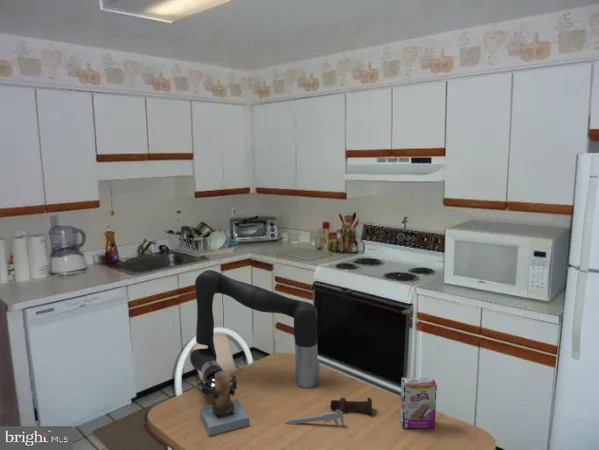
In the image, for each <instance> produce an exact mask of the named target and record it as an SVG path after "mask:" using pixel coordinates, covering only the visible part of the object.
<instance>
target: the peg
mask: <svg viewBox="0 0 599 450" xmlns="http://www.w3.org/2000/svg"><path fill="white" fill-rule="evenodd" d="M230 374H231V372H230V371H228V370H223V371H219V372H217V373H215V390H216V392H217V395H218V399H216V400H215V402H214V403H213V404H214V405H213V406H212V411H213V412H214V413H215V414H217V417H218V418H221V417H225V416H229V415H230V413H231V412H232V411H233V410H234V404H233V402H231V400H232V399H231V394H230V383H231V382H230V378H231V375H230Z"/></svg>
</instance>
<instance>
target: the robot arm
mask: <svg viewBox="0 0 599 450" xmlns="http://www.w3.org/2000/svg"><path fill="white" fill-rule="evenodd" d="M194 281H195V283H194V289H195V295H196V304H197V305H196V311H197V312H196V314H197V315H196V331H195V332H196V334H195V335H196V336H195V342H196V343H197V344H199V345H201V346H207V347H206V348H204V347H203V348H196V349H193V350H192V351H191V353H190V356H189V357H190V358H189V361H190V363H191V365H192V366H193V368H195V369H196V370H197V371H199V372H201V375H202V379H203V380H204V383H203V382H199V383H198V386H199V387H198V389H199V391H201V392H202V394H203V395H205V396H209V395H210V396H211V397H212V398H213V399H214V400H215V401H216V399H218V395H217V392H216V390H215V373H217V372H219V371H224V370H223V368H222V366H221V365H220V364H219V363H218V362H217V359H218V358H217V357H218V355H217V352H216V347H215V344H214V343H215V342H214V341H215V340H214V336H215V335H214V333H215V332H214V331H215V330H214V329H215V320H214V311H213V304H214V303H213V302H214V298H215V297H214V296H215V293H218V294H222V295H224V296H228V297H230V298H232V299H233V300H235V301H236V302H238V303H239V304H240V305H242V306H244V307H246V308H249V309H251V310H254V311H257V312H262V313H271V314H282V315H285V316H288V317H291V318H293V336H294V337H293V338H294V370H295V371H294V375H295V378H294V380H295V381H294V382H295V385H296V386H298V387H300V388H304V389H305V388H306V389H309V388H313V387H315V386H317V385H318V384H320V380H321V379H320V373H321V372H320V361H319V359H318V309H317V307H316V306H315V305H314V304H313V303H310V302H308V301H304V300H300V299H299V300H298V299H296V298H295V299H294V298H290V297H287V296H284V295H282V294H280V293H277V292H274V291H271V290H269V289H266V288H263V287H261V286H257V285H254V284H250V283H248V282H244V281H239V280H236V279H233V278H231V277H229V276H227V275H224V274H222V273H220V272H218V271H216V270H212V269H209V270H208V269H207V270H205V271H203V272H202V273H200V274H199V275H198V276H196V278H195V280H194ZM237 383H238V382H237V376H236V375H232V377H230V397H231V396H233V397H234V396H235V394H236V390H237V389H238V387H237V386H238V385H237Z"/></svg>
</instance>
